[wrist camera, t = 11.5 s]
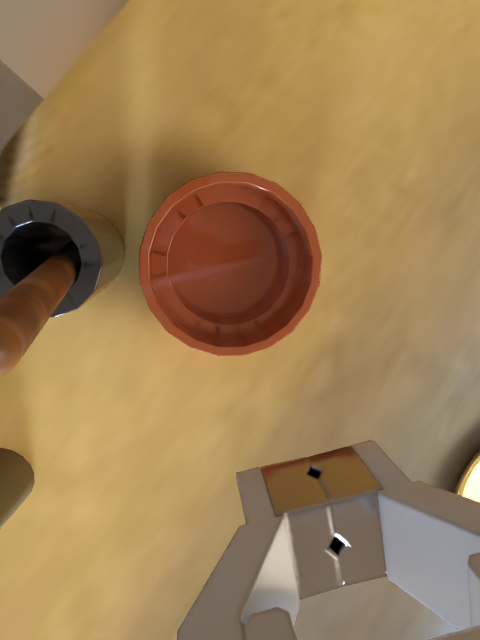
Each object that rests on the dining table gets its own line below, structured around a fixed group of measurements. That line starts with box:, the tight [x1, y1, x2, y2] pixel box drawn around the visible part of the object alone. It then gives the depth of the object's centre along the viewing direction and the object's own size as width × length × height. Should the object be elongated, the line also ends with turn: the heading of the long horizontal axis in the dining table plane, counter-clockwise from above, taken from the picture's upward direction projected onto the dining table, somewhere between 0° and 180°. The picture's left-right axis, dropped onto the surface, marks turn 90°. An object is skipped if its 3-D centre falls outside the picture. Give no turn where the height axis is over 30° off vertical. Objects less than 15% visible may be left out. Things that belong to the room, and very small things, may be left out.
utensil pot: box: [0, 200, 124, 317], centre depth 30 cm, size 7×7×10 cm
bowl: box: [139, 172, 322, 356], centre depth 33 cm, size 13×13×6 cm
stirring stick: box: [0, 241, 81, 376], centre depth 23 cm, size 2×2×22 cm
